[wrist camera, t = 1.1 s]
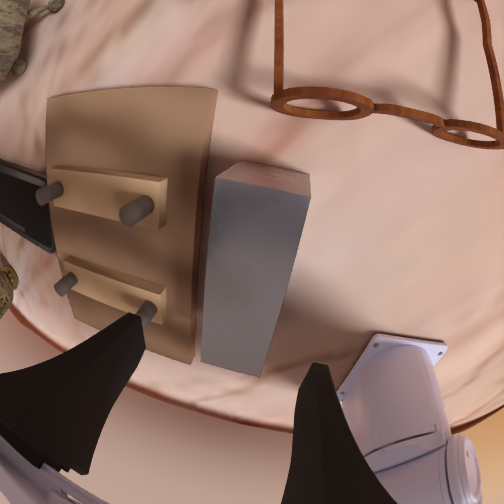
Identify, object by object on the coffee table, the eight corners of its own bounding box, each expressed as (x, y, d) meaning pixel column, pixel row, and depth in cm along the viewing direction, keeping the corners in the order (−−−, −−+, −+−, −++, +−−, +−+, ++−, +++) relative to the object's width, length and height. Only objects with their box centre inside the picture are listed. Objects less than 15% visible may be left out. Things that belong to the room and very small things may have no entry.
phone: (-14, 157, 18) (50, 180, 17) (-7, 155, 19) (59, 177, 18) (-9, 216, 22) (55, 257, 21) (-3, 213, 23) (62, 252, 22)
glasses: (276, 117, 14) (264, 114, 10) (273, -53, 8) (260, -94, 4) (475, 149, 12) (522, 165, 7) (461, -15, 6) (493, -36, 1)
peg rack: (194, 356, 24) (179, 390, 20) (80, 311, 25) (59, 335, 22) (217, 90, 13) (188, 81, 10) (57, 97, 15) (18, 102, 11)
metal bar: (270, 327, 21) (259, 377, 16) (220, 314, 21) (200, 361, 17) (309, 173, 15) (310, 197, 11) (241, 159, 15) (215, 177, 11)
